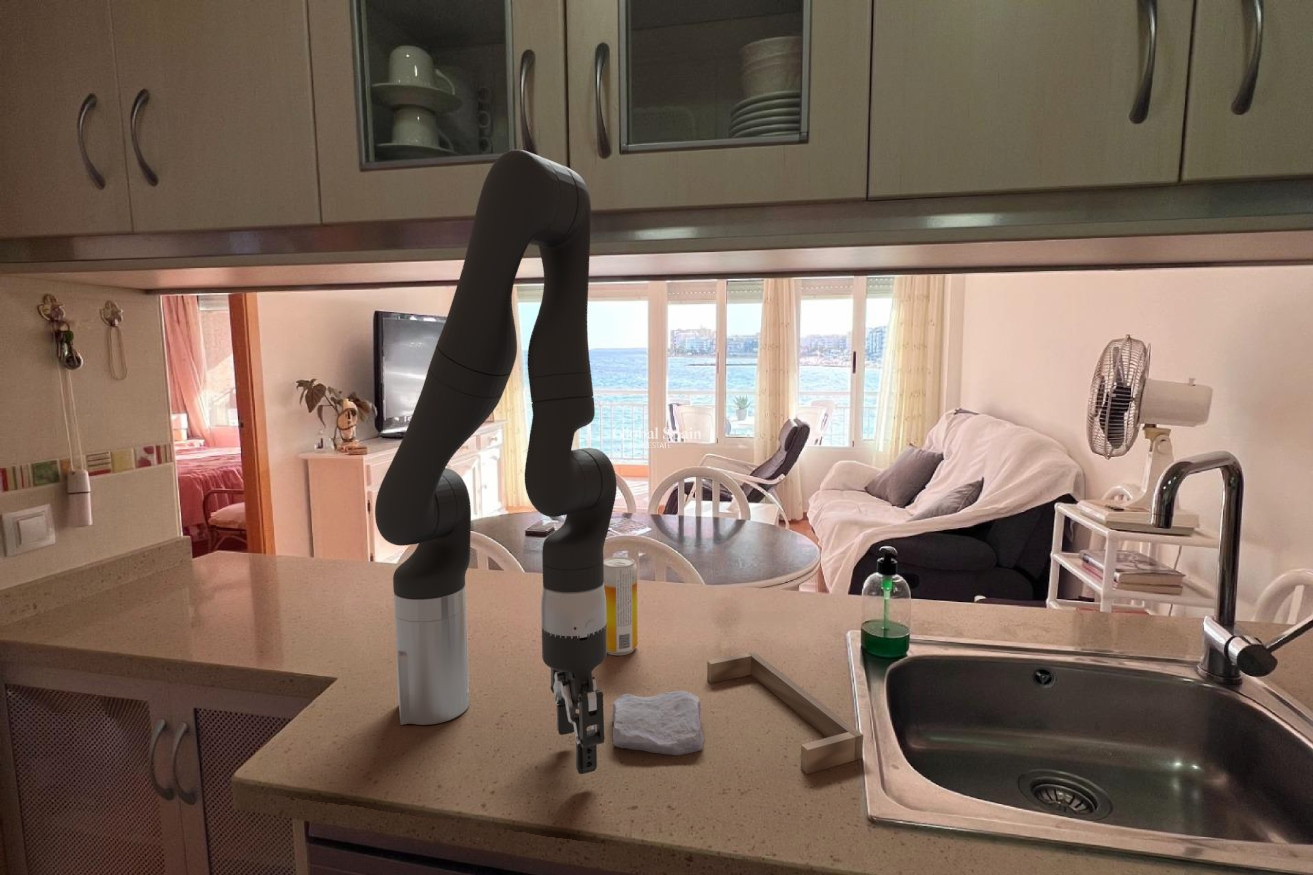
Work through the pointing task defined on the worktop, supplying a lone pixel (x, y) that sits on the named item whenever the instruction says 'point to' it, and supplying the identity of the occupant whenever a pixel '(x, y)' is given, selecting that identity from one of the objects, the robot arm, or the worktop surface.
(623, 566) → the beer can
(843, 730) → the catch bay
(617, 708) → the stone block
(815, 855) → the worktop surface
